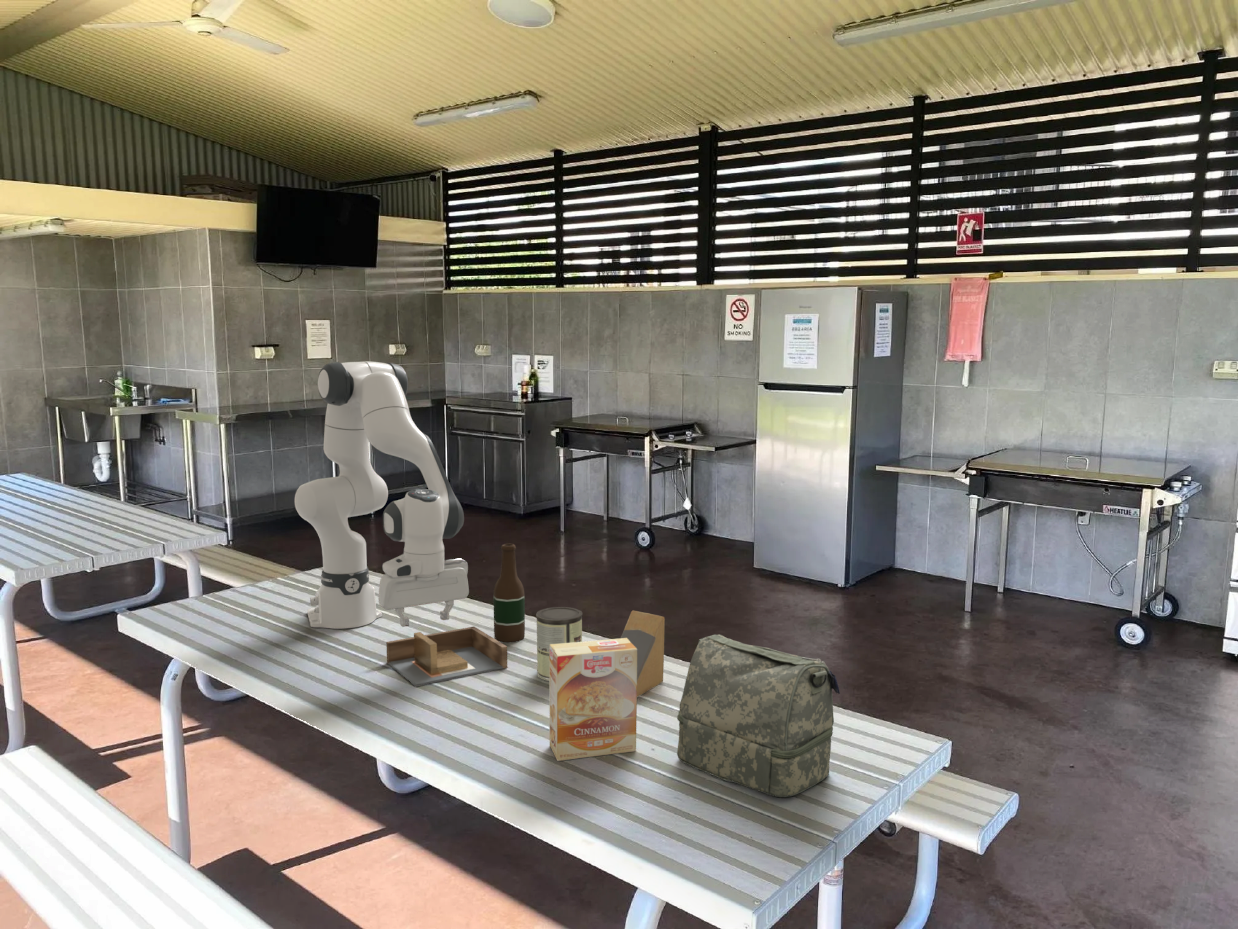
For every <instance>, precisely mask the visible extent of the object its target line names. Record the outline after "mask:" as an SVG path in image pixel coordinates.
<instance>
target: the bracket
mask: <svg viewBox="0 0 1238 929" xmlns="http://www.w3.org/2000/svg"><path fill="white" fill-rule="evenodd" d="M425 635H426V634H424V633H422V632H421V631H418V632H413V637H414V659H415V663H416V664H417V665H418V666H420V667H421V668H422V669H423V670H425V671H426V672H427V673H429V674H430V675H436V674H441V673H446V672H451V671H456V670H461V669H466V668H468V662H467V661H466V660H464V659H463V658H462V657H460V656H459V655H457V654H456V653H454V652H453V651H451V650H445V651H440V652H437V644H436V643H435V642H434V641H432V640H431V639H429V638H428V637H426V636H425Z"/></svg>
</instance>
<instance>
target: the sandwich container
mask: <svg viewBox="0 0 1238 929" xmlns="http://www.w3.org/2000/svg"><path fill="white" fill-rule="evenodd" d="M665 620H666V619H665V616H661V615H658V614H652V613H649V612H642V611H638V610H632V611H631V612H630V614H629V617H628V619H627V622H626V624H625V626H624V629H623V631H622V634H621V636H620V638H627V639H628V640H629V641H630V642H631V643H632V644H633V645H634V646H635V647H636V648H637V698H638V697H640V696H641V695H643V694H645V693H647V692H648V691H650V690H652V689H654V688H655V687H657V686H658V685H660V684H662V683H663V682H664V668H665V667H664V665H665V664H664V663H665V662H664V661H665V659H664V658H665V626H666V625H665Z"/></svg>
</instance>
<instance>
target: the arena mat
mask: <svg viewBox="0 0 1238 929" xmlns="http://www.w3.org/2000/svg"><path fill="white" fill-rule="evenodd" d="M451 651H453V652H454V653H456V654H457V655H459V656H460V657H462V658H463V659H464V660H466V661H467V662H468V668H466V669H461V670H456V671H451V672H446V673H441V674H436V675H430V674H429V673H427V672H426V671H425V670H423V669H422V668H421V667H420V666H418V665H417V664H416V663H415V659H414V657H413V658H408V659H403V660H398V661H392V662H389V664H388V665H389V666H390V667H392V668H393V669H394V670H395V671H396V670H397V671H396V672H397V673H398V674H400V675H401V676H402V675H403V676H402V677H403V678H404V677H405V678H404V679H406V680H407V681H408V680H409V681H410V682H411V683H410V682H409V681H408V682H409V683H410V684H411V685H412V686H414V687H415V686H416V687H420V686H419V685H421V686H425V685H426V686H427V685H430V684H429V683H431V684H435V683H440V682H443V680H445V681H448V680H449V679H450V680H454V679H453V678H455V679H458V678H463V677H468V676H473V675H478V674H482V673H483V674H484V673H487V672H493V671H497V670H501V669H502V670H503V669H504V668H503V666H501V665H500V664H498V663H497V662H495V661H493V660H492V659H490V658H489V657H487V656H486V655H484V654H483V653H481V652H480V651H478V650H477V649H475V648H474V647H466V648H461V649H456V650H451Z"/></svg>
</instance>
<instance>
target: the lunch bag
mask: <svg viewBox="0 0 1238 929" xmlns="http://www.w3.org/2000/svg"><path fill="white" fill-rule="evenodd" d="M684 681H685V683H684V686H683V692H682V694H681V699H680V703H679V711H678V714H677V716H676V718H677V721H678V727H679V728H678V743H677V752H676V756H677V758H678V759H679V760H680V761H681V762H682V763H684V764H686V765H689V766H691V767H693V768H695V769H698V770H700V771H702V772H705V773H707V774H709V775H712V776H715V777H717V778H719V779H720V780H724V781H727V782H732V783H735V784H737V785H741V786H743V787H746V788H749V789H752V790H754V791H758V792H762V793H764V794H766V795H768V796H769V795H770V796H773V797H776V798H785V797H792V796H796V795H798V794H801V793H803V792H805V791H807V790H808V789H810V788H812V787H814V786H815V785H817V784H818V783H820V782H822V781H823V780H824V779H825V778H827V777H828V776H829V775H830V762H831V752H832V751H831V749H832V737H833V733H834V732H833V730H834V727H833V726H834V722H835V720H834V719H835V718H834V705H833V704H834V699H833V691H834V692H835V693H836V694H838V695H839V694H841V693H840V687H839V683H838V680H837V677H836V675H835V674H834V673H833V672H832V671H831V670H830V669H829V667H828V666H827V664H826V662H825V661H824V660H823V661H822V660H821V659H820V658H809V657H804V656H800V655H797V654H791V653H788V652H784V651H780V650H776V649H773V648H771V647H766V646H765V647H764V646H759V645H751V644H747V643H743V642H741V641H737V640H733V639H731V638H727V637H725V636H724V635H722V634H712V635H708V636H705V637H702V638H700V639H698V644H697V646H696V647H695V650H694V652H693V654H692V657H691V660H690V663H689V667H688V670H687V674H686V678H685V680H684Z"/></svg>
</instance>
